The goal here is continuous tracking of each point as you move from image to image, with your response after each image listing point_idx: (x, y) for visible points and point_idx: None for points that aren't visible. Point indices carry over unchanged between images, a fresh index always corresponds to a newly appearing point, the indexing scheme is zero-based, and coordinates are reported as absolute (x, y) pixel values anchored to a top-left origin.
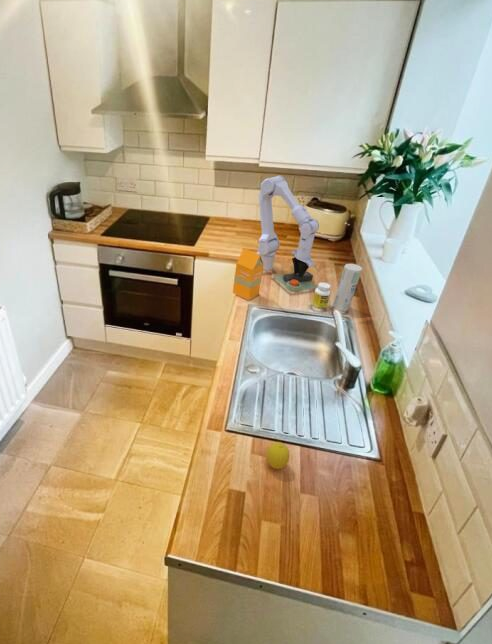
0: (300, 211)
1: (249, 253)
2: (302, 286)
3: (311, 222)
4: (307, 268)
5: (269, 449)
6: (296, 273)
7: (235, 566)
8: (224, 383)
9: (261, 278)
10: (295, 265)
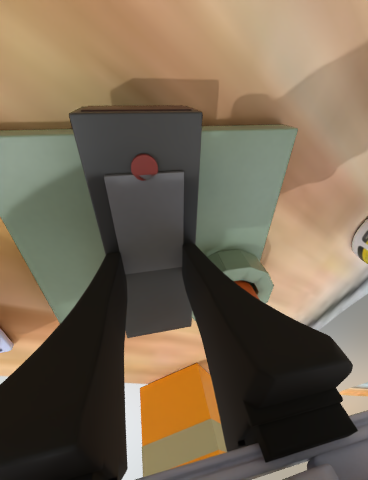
0: None
1: None
2: (230, 230)
3: None
4: (261, 307)
5: None
6: (129, 272)
7: None
8: (357, 393)
9: (217, 443)
10: (122, 369)
